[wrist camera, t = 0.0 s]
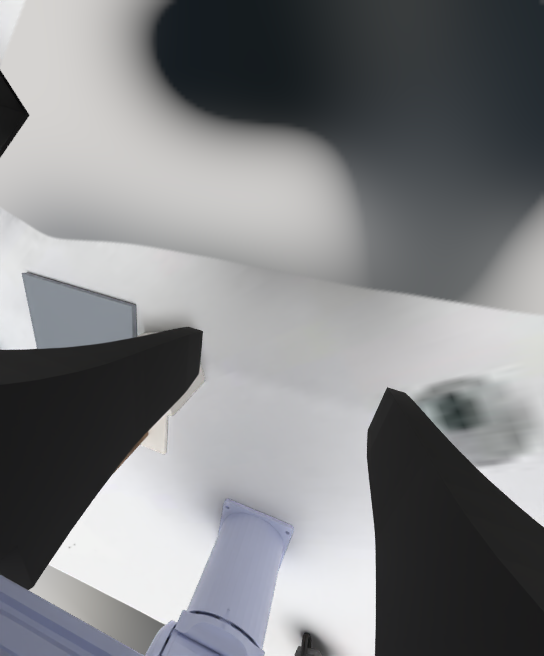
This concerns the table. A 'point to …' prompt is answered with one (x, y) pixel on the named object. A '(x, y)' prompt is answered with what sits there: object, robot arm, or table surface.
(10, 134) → the battery charger
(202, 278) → the table surface
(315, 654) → the walkie-talkie
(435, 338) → the table surface
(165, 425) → the tile
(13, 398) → the robot arm
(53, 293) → the slate pad
